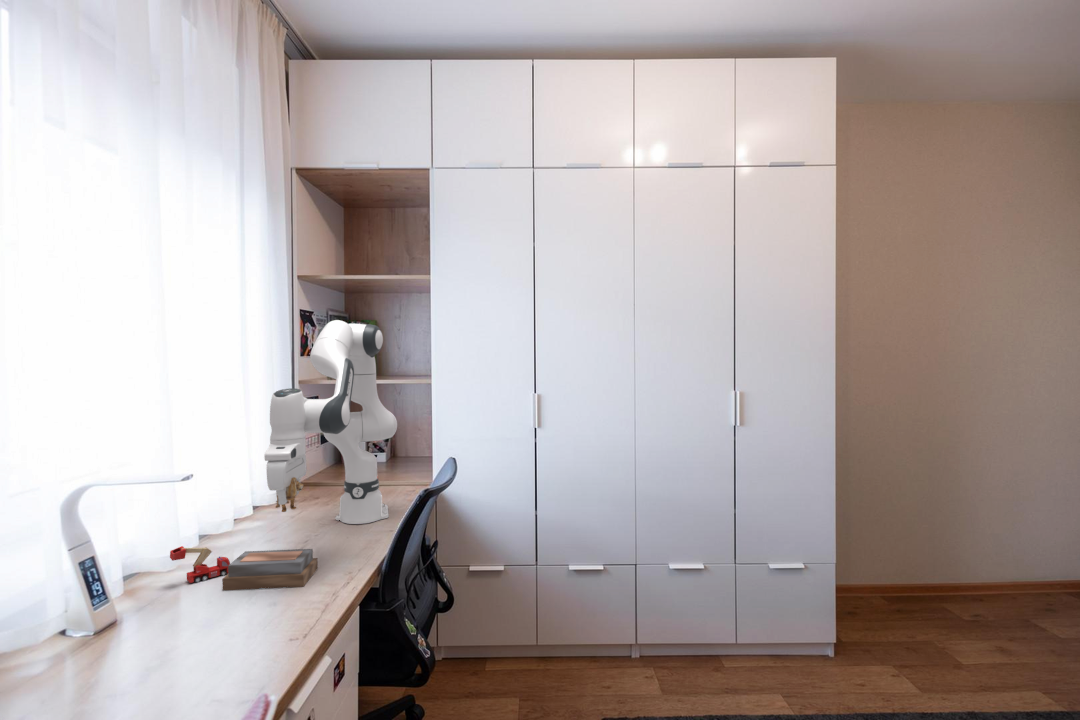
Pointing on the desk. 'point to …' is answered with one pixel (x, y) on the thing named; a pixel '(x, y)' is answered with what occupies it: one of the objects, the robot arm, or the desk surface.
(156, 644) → the desk surface
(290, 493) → the lion figurine
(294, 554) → the plinth
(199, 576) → the toy fire truck
